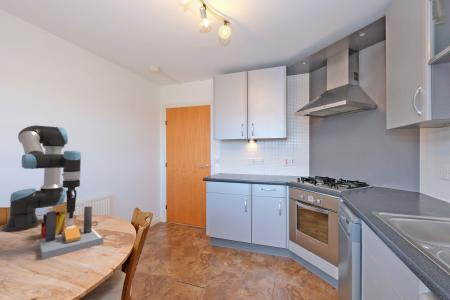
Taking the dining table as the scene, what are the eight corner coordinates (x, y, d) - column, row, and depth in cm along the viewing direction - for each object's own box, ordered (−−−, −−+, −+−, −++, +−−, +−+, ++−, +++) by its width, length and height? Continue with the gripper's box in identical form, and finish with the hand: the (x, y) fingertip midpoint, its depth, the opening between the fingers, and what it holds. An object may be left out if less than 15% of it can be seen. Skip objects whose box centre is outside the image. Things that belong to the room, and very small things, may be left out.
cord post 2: (82, 232, 117) (83, 207, 117) (90, 230, 119) (91, 205, 120) (84, 234, 114) (85, 208, 115) (92, 232, 117) (92, 207, 117)
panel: (38, 245, 106) (39, 231, 107) (92, 233, 123) (93, 221, 124) (42, 259, 92) (43, 243, 93) (103, 243, 109) (103, 230, 110)
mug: (40, 242, 110) (41, 219, 110) (43, 234, 121) (44, 213, 121) (63, 238, 115) (64, 216, 116) (64, 230, 127) (65, 210, 127)
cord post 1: (45, 240, 105) (46, 212, 106) (54, 238, 108) (55, 210, 108) (46, 242, 103) (47, 213, 103) (55, 240, 105) (56, 212, 106)
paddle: (62, 229, 110) (62, 226, 110) (76, 226, 114) (76, 223, 114) (65, 242, 102) (66, 239, 102) (81, 239, 106) (81, 236, 106)
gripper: (60, 179, 114) (59, 222, 113) (64, 181, 105) (63, 228, 104) (77, 178, 119) (76, 219, 119) (82, 180, 110) (81, 225, 109)
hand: (70, 224), depth 111 cm, fingers closed
